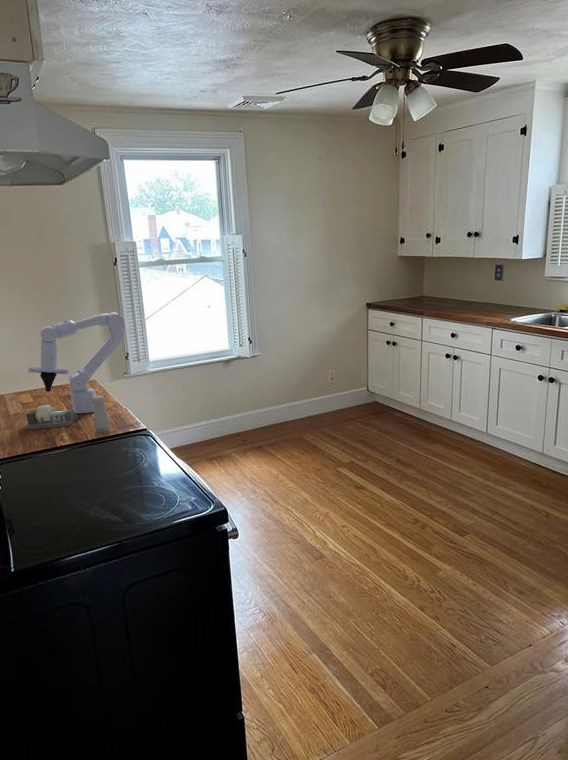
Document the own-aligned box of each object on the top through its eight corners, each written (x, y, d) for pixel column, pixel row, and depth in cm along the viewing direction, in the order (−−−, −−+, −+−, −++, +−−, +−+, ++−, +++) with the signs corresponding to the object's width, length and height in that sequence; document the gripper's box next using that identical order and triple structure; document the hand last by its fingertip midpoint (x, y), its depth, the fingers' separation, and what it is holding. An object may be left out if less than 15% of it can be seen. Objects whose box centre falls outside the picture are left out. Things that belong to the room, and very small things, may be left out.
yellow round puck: (42, 418, 207) (40, 409, 206) (39, 421, 204) (37, 412, 203) (39, 419, 207) (37, 410, 206) (36, 421, 204) (34, 412, 203)
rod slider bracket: (77, 417, 212) (75, 404, 211) (70, 425, 202) (68, 412, 201) (34, 421, 210) (32, 408, 209) (26, 429, 201) (23, 416, 199)
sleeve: (52, 417, 208) (50, 404, 207) (50, 420, 204) (47, 407, 203) (42, 418, 207) (39, 405, 206) (39, 422, 204) (36, 408, 202)
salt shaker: (106, 434, 190) (100, 398, 187) (91, 434, 191) (85, 398, 188) (114, 428, 195) (109, 394, 192) (100, 428, 197) (94, 394, 193)
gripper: (26, 357, 207) (26, 392, 209) (66, 360, 209) (65, 394, 212) (31, 354, 213) (31, 388, 216) (69, 357, 216) (69, 390, 219)
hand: (48, 391), depth 214 cm, fingers closed
